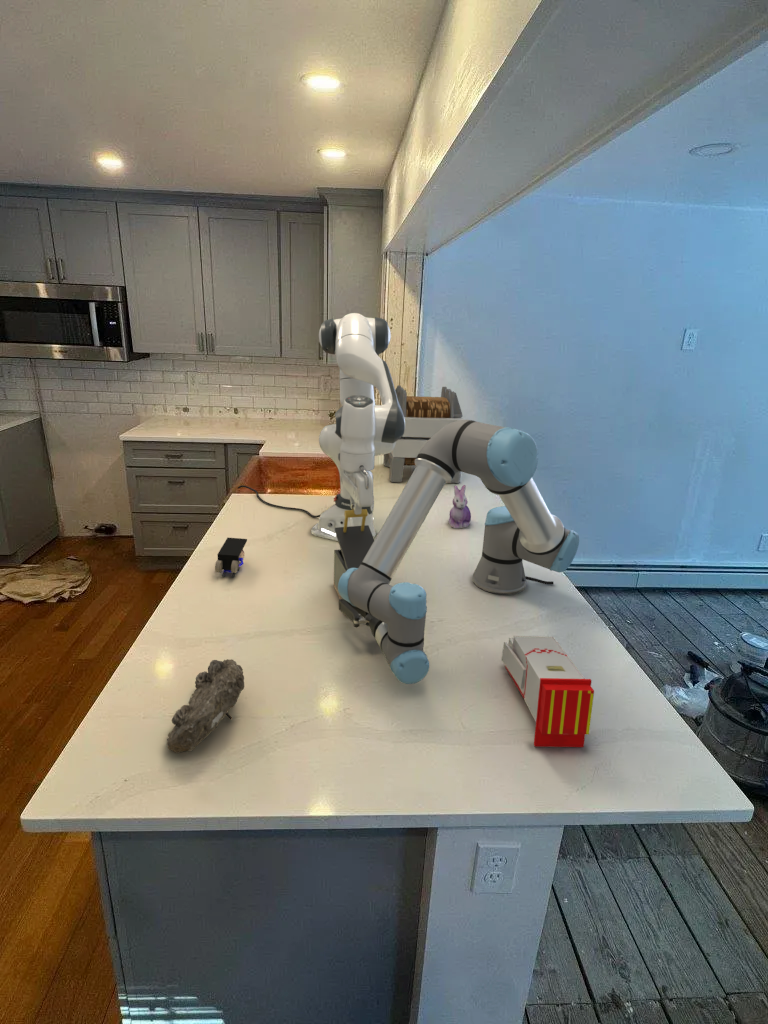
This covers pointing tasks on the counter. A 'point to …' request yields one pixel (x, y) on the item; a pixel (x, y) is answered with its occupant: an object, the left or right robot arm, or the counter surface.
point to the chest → (338, 568)
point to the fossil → (206, 705)
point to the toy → (550, 690)
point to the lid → (354, 540)
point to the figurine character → (230, 556)
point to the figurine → (459, 509)
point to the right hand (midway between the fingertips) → (363, 586)
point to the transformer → (421, 427)
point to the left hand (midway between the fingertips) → (355, 511)
